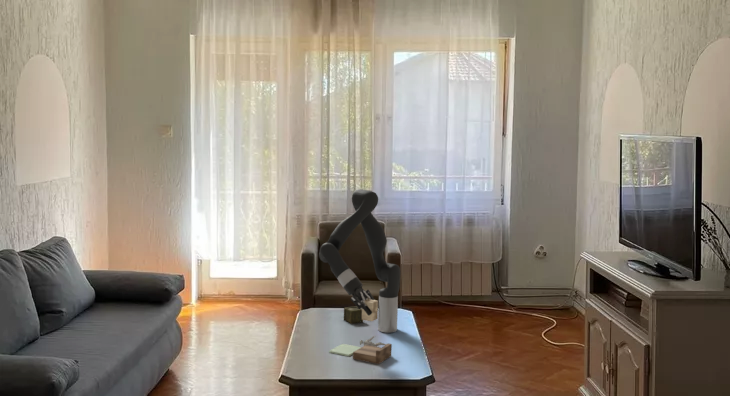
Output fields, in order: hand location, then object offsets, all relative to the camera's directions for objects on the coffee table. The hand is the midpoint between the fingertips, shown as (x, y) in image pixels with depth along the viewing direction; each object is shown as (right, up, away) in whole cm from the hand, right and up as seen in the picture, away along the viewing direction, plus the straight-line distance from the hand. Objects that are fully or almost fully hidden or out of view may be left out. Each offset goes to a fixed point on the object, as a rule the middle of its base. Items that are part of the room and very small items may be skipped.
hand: (373, 312), depth 312 cm
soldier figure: (0, -19, +14) cm, 24 cm away
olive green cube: (-10, -15, +59) cm, 61 cm away
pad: (-12, -19, +10) cm, 25 cm away
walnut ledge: (-1, -20, +2) cm, 20 cm away
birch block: (-2, -3, +1) cm, 4 cm away
